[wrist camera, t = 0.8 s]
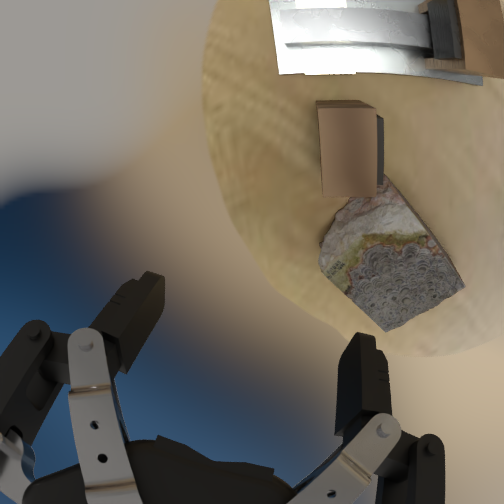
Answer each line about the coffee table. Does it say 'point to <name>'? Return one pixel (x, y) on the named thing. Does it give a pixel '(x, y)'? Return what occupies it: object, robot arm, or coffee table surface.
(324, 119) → the brown wooden block
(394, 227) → the geological specimen
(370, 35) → the grey and brown stand
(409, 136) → the coffee table surface
